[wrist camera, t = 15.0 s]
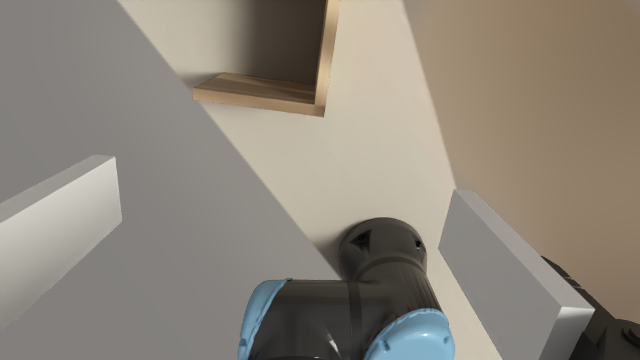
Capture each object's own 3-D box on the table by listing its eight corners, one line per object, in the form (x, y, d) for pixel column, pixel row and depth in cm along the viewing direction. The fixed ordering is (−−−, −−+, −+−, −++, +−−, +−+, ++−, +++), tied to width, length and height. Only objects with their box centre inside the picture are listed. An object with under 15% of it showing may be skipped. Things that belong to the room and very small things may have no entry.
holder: (321, 94, 52) (323, 117, 39) (224, 81, 51) (192, 99, 38) (338, -26, 46) (347, -46, 33) (227, -44, 45) (192, -72, 32)
